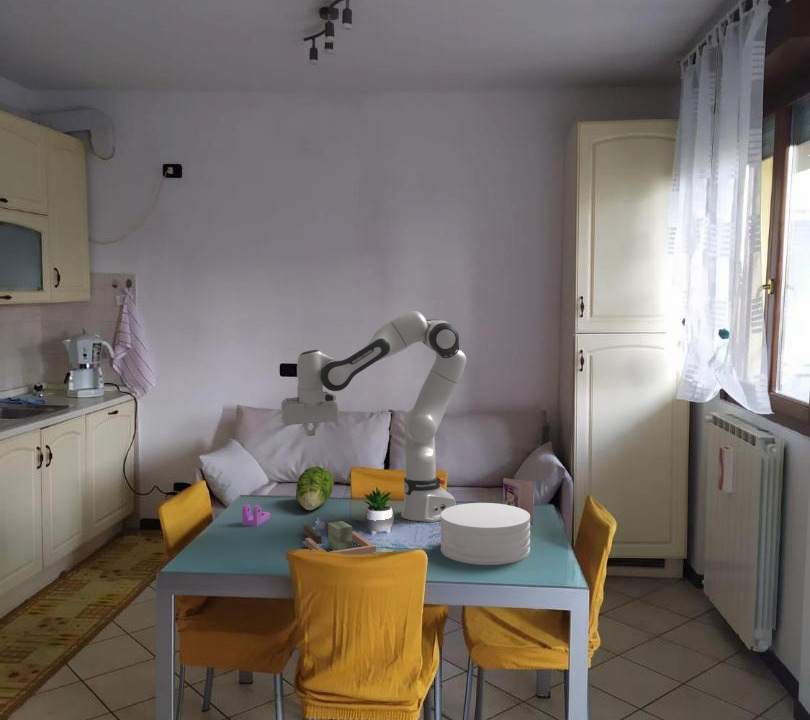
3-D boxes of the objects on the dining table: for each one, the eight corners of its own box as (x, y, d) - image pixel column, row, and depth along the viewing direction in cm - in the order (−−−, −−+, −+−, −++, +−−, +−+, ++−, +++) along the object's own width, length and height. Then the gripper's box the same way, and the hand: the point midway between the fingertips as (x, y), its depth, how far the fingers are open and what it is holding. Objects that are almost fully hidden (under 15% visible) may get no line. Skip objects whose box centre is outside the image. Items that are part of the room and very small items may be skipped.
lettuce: (293, 524, 292) (286, 492, 289) (302, 496, 315) (296, 466, 311) (330, 520, 291) (324, 487, 288) (337, 491, 314) (331, 461, 310)
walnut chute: (328, 528, 272) (328, 521, 272) (343, 540, 260) (343, 532, 259) (303, 532, 268) (303, 525, 268) (317, 544, 256) (316, 536, 255)
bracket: (256, 526, 276) (256, 506, 276) (242, 525, 278) (241, 505, 277) (272, 516, 289) (272, 497, 288) (258, 515, 290) (258, 496, 290)
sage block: (342, 545, 255) (342, 521, 254) (352, 551, 249) (352, 526, 248) (328, 547, 252) (328, 523, 251) (338, 554, 246) (337, 528, 245)
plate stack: (436, 537, 262) (436, 503, 261) (520, 535, 264) (520, 501, 263) (445, 566, 235) (445, 528, 234) (539, 564, 236) (539, 526, 235)
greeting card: (501, 519, 282) (501, 478, 281) (519, 517, 285) (519, 476, 284) (517, 528, 272) (518, 485, 270) (536, 525, 275) (536, 483, 273)
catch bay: (354, 538, 261) (354, 531, 261) (375, 554, 246) (375, 546, 245) (305, 545, 254) (305, 538, 254) (323, 562, 238) (323, 554, 238)
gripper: (284, 399, 269) (284, 439, 270) (340, 395, 278) (340, 434, 279) (278, 397, 275) (279, 436, 276) (334, 393, 283) (334, 431, 285)
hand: (310, 435), depth 277 cm, fingers closed
